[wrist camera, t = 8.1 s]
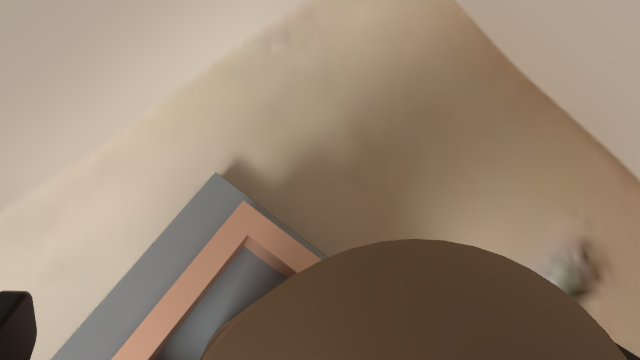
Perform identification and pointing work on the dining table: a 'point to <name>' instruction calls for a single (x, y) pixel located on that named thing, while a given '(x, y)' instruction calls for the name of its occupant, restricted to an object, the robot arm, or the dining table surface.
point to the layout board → (193, 280)
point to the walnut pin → (414, 311)
